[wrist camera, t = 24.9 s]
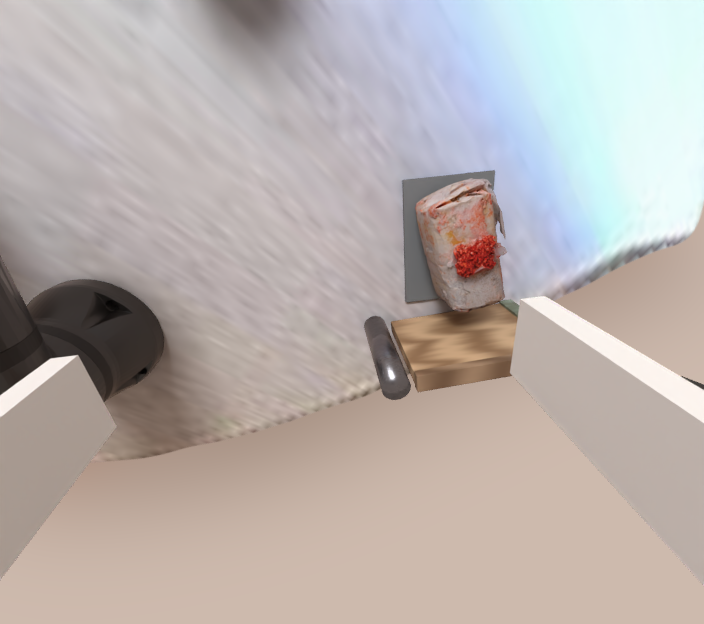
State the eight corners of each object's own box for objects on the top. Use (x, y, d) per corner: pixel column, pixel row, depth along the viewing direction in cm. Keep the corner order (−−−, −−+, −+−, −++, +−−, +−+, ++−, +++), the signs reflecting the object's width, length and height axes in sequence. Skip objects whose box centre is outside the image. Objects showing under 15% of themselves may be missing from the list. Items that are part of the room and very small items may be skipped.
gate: (392, 333, 45) (417, 392, 34) (390, 319, 44) (416, 375, 33) (509, 313, 46) (575, 365, 34) (510, 299, 45) (578, 347, 33)
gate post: (365, 336, 46) (382, 401, 34) (363, 317, 45) (381, 378, 32) (385, 333, 46) (410, 397, 34) (384, 314, 45) (410, 374, 32)
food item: (403, 197, 38) (429, 208, 29) (467, 172, 38) (513, 175, 29) (430, 295, 44) (459, 329, 35) (486, 275, 44) (529, 304, 35)
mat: (405, 301, 45) (406, 302, 44) (402, 180, 38) (403, 180, 38) (482, 291, 45) (484, 292, 45) (493, 170, 38) (494, 170, 38)
